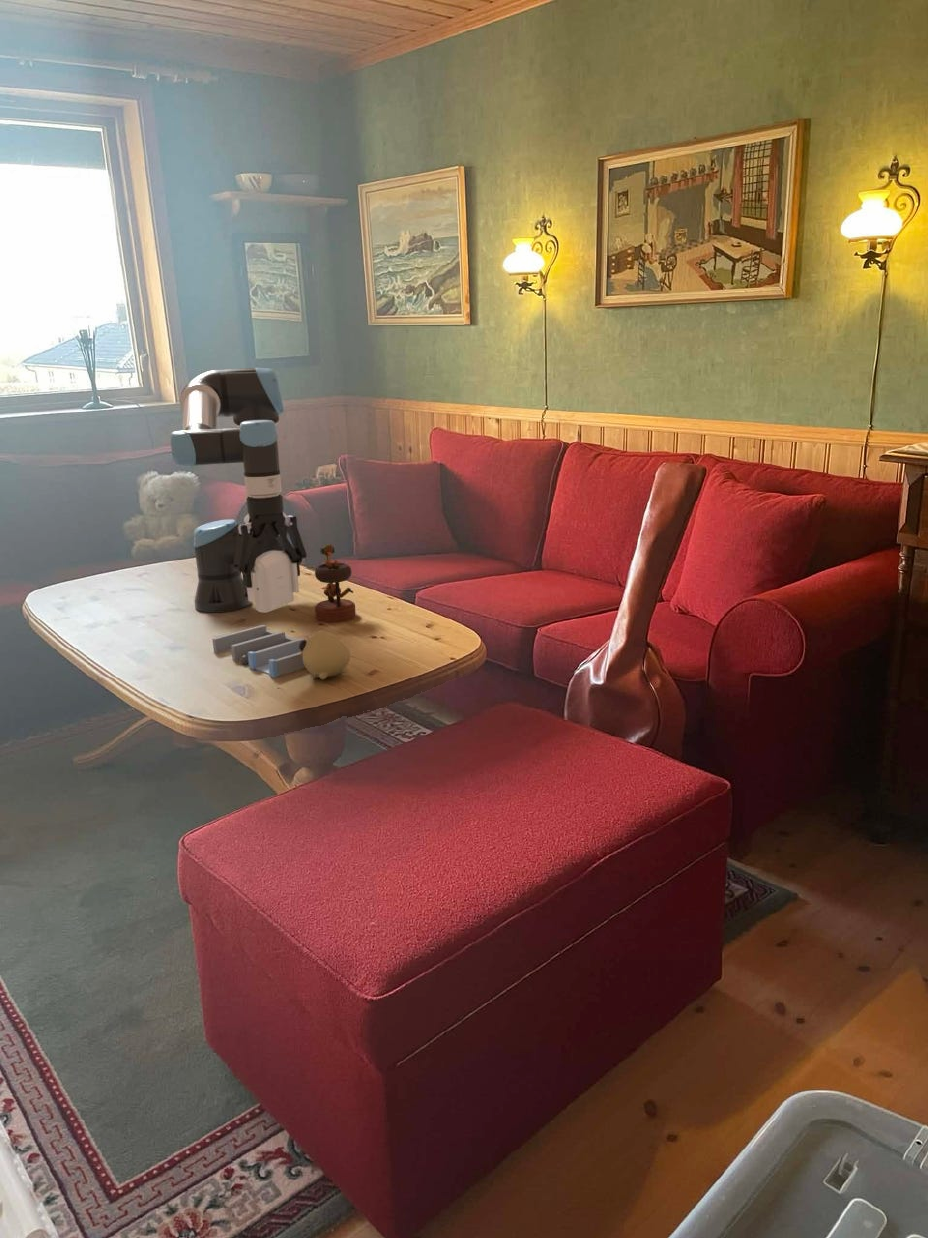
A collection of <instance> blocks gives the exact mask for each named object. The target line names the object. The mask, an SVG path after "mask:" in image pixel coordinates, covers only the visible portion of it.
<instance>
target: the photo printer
mask: <svg viewBox="0 0 928 1238" xmlns="http://www.w3.org/2000/svg"><path fill="white" fill-rule="evenodd" d="M290 562H291V561H290V558H289V556H288V554H287V553H286V552H283V551H276V550H273V551H268V552H265V553H263V554H261V555H260V556H258V557H257V558H256V561H255V563H254V566H253V569H252V572H255V574H256V584H257V594H258V602H257V603H254V605H255V610H256V611H257V612H259V613H269V612H272V611H275V610H277V609H279V608H282V607H284V606H286V605H288V604H291V603H292V602H294V600H295V599H294V592H293V586H292V576H291V565H290Z"/></svg>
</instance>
